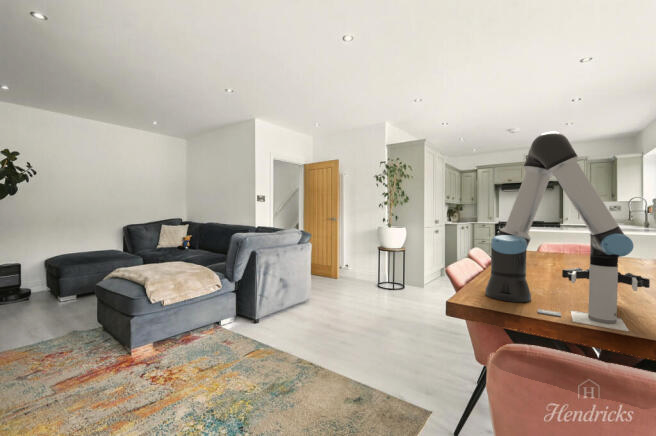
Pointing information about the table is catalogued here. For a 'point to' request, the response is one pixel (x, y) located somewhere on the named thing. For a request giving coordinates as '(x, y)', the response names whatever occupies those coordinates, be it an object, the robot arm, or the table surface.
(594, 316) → the travel mug
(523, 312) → the table surface
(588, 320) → the notepad
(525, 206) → the robot arm
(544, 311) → the plate
